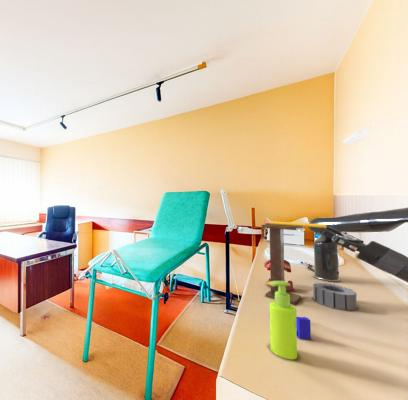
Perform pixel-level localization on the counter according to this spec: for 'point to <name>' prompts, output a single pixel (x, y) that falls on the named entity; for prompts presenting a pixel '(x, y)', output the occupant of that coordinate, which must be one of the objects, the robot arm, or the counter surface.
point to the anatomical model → (287, 268)
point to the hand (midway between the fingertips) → (323, 229)
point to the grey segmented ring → (334, 296)
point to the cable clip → (303, 328)
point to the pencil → (297, 224)
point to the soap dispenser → (283, 323)
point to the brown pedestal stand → (278, 258)
